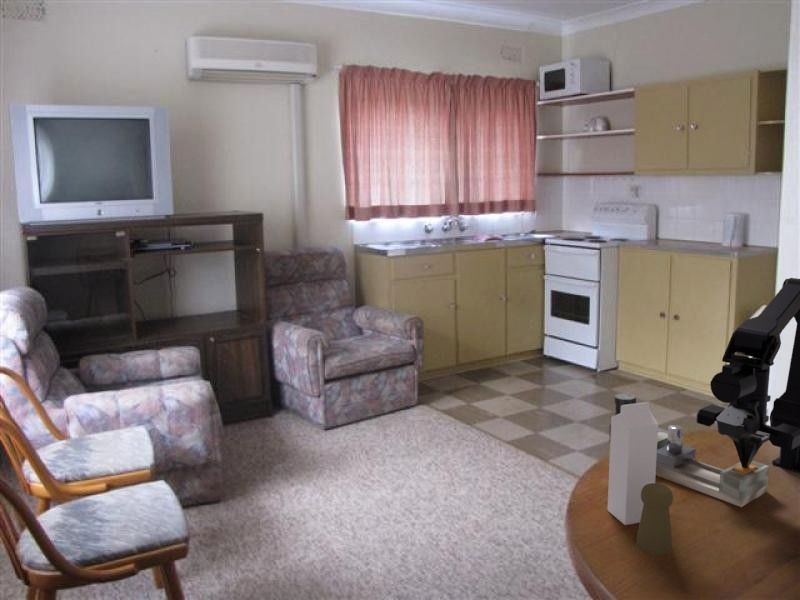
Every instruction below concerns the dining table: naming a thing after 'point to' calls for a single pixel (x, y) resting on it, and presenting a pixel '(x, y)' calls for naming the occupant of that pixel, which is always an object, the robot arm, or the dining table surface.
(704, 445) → the dining table surface
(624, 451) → the milk
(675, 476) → the rail track
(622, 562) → the dining table surface
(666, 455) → the carriage
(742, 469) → the orange block
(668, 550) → the olive pawn
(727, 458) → the dining table surface
